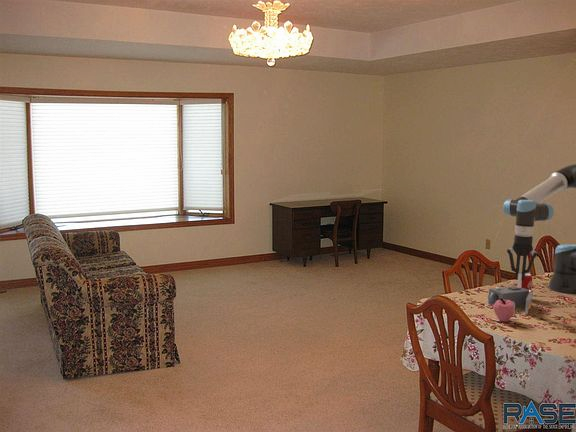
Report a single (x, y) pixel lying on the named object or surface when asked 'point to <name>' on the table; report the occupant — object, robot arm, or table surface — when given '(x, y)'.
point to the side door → (528, 302)
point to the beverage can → (527, 282)
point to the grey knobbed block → (508, 295)
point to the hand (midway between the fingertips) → (519, 287)
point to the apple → (504, 309)
